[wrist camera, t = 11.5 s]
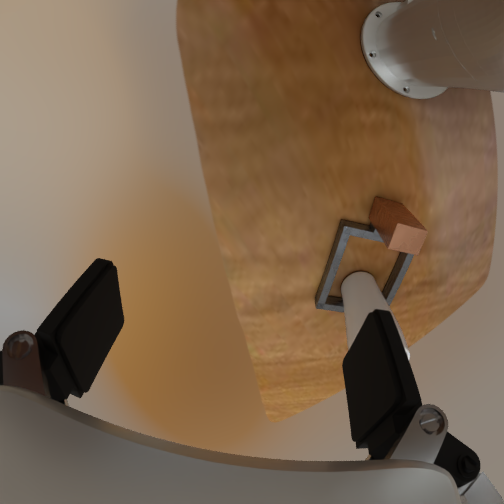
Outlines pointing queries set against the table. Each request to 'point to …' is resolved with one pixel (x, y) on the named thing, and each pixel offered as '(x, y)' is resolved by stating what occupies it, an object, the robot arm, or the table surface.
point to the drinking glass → (363, 304)
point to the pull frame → (381, 229)
